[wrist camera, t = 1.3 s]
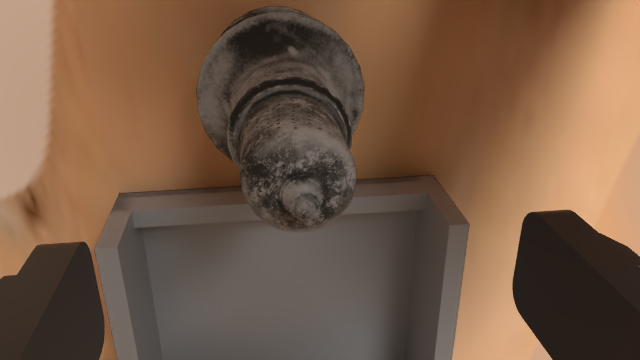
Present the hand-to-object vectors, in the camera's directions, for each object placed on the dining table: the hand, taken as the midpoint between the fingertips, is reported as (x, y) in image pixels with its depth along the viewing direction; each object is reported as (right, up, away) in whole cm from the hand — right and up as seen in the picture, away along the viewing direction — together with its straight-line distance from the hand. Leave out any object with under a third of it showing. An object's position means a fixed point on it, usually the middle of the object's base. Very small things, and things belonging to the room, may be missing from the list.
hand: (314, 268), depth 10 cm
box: (-2, -4, +17) cm, 17 cm away
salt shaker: (-2, +6, +12) cm, 14 cm away
